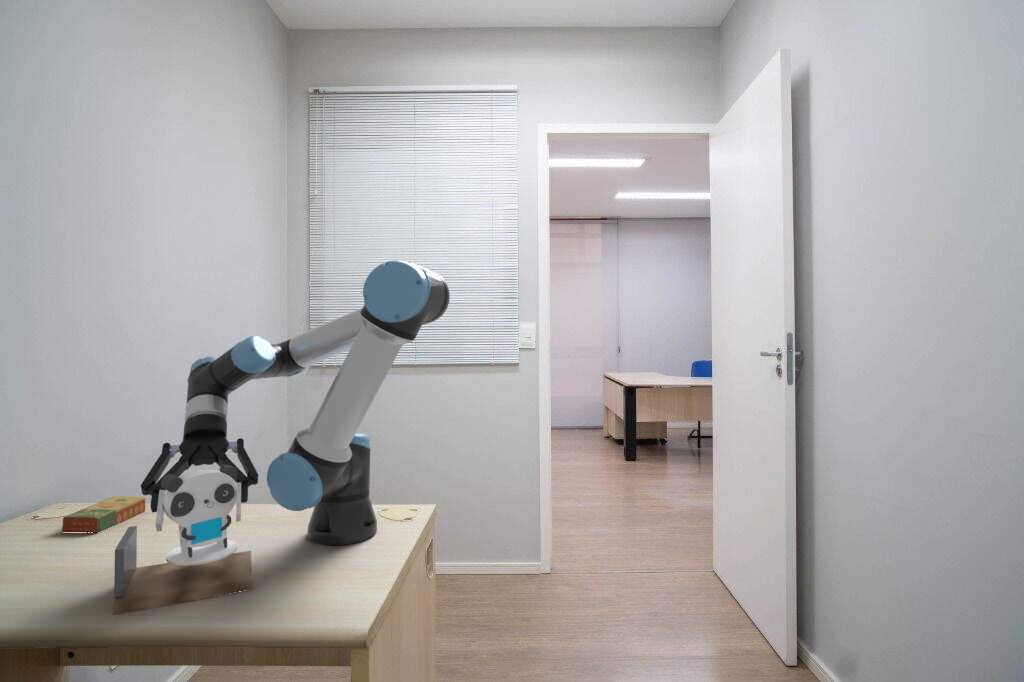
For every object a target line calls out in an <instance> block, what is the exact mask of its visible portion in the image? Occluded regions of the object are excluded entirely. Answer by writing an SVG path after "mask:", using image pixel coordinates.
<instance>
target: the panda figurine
mask: <svg viewBox="0 0 1024 682" xmlns="http://www.w3.org/2000/svg"><path fill="white" fill-rule="evenodd" d="M237 475H238V470H237V469H236V468H235V467H232V466H230V465H222V466H221V467H220V466H219V470H217V469H213V468H204V469H195V470H192V471H189V472H186V473H184V474H181V475H180V476H179V477H177V476H175V475H173V474H167V475H166V476H164V475H163V476H164V477H163V476H162V477H163V479H162V481H161V486H162V488H164V489H166V491H165V497H164V500H163V510H164V514H165V515H166V516H167V518H169V520H171V521H172V522H174V523H175V524H178V533H179V546H177V547H175V548H173V549H171V550H169V551H168V552H167V554H165V561H166V563H171V564H174V565H198V564H204V563H209V562H213V561H217V560H220V559H223V558H225V557H227V556H229V555H231V554H233V553H236V552H237V550H238V548H239V547H238V546H239V545H238V543H237V542H236V541H235V540H231V539H228V535H227V531H228V527H230V526H231V523H232V517H231V516H230V513H231V511H232V510H233V509H234V506H235V505H236V496H237V485H236V484H235V483H236V482H235V481H234V480H233V479H232V478H231V477H236V476H237Z"/></svg>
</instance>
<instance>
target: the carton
mask: <svg viewBox="0 0 1024 682" xmlns="http://www.w3.org/2000/svg"><path fill="white" fill-rule="evenodd" d="M145 512H146V497H145V496H112V497H109V498H107V499H104V500H102V501H99V502H98V503H94V504H92V505H90V506H88V507H85V508H82V509H80V510H77V511H75V512H73V513H70V514H68V515H66V516H63V518H62V527H61V533H62V532H87V533H88V532H90V533H91V532H93V533H98V532H101V531H103V530H105V531H107V530H109V529H111V528H113V527H112V526H114V527H115V525H116V526H117V524H118V525H119V523H120V524H122V523H124V522H126V521H128V520H130V519H132V518H135V517H137V516H139V515H141V514H143V513H145ZM110 527H111V528H110ZM108 528H109V529H108ZM106 529H107V530H106ZM103 532H104V531H103ZM101 533H102V532H101ZM98 534H99V533H98Z"/></svg>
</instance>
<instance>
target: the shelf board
mask: <svg viewBox="0 0 1024 682" xmlns="http://www.w3.org/2000/svg"><path fill="white" fill-rule="evenodd" d="M252 568H253V567H252V550H248V551H247V550H246V551H239V552H234V553H233V554H231V555H229V556H227V557H225V558H223V559H220V560H217V561H213V562H209V563H204V564H198V565H174V564H171V563H168V562H165V563H159V564H152V565H146V566H138V567H137V569H136V572H135V574H134V576H133V578H132V580H131V583H130V585H129V587H128V589H127V591H126V593H125V596H124V598H121V599H115V600H113V602H112V616H113V615H120V614H124V613H125V614H126V613H130V612H136V611H140V610H141V611H142V610H147V609H152V608H153V609H154V608H159V607H160V608H161V607H164V606H165V607H166V606H170V605H174V604H175V605H177V604H182V603H186V602H192V601H198V600H203V599H204V598H205V599H210V598H215V597H214V596H216V597H220V596H219V595H222V596H226V595H225V594H227V595H230V594H229V593H233V594H235V593H234V592H239V591H244V590H250V591H252V590H253V576H252V575H253V573H252V572H253V571H252ZM251 589H252V590H251ZM244 592H245V591H244ZM239 593H240V592H239ZM209 597H210V598H209ZM205 599H204V600H205Z"/></svg>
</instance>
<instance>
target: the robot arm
mask: <svg viewBox="0 0 1024 682" xmlns="http://www.w3.org/2000/svg"><path fill="white" fill-rule="evenodd" d="M362 288H363V289H362V296H363V302H364V303H363V304H364V305H363V306H362V307H361V308H359V309H356V310H354V311H352V312H349V313H347V314H345V315H343V316H340V317H338V318H335V319H333V320H331V321H329V322H325V323H324V324H321V325H319V326H316V327H315V328H312V329H310V330H308V331H305V332H303V333H300V334H297V335H296V336H294V337H292V338H289V339H287V340H285V341H282V342H280V343H275V344H272V343H270V342H269V341H268V340H267V339H266V338H262V337H261V336H259V335H250V336H248V337H246V338H245V339H243V340H241V341H239V342H237V343H236V344H234V346H233V347H231V348H229V349H228V350H227V351H225V352H223V354H222V355H220V356H218V357H217V356H216V357H215V356H206V357H204V358H199V359H197V360H195V361H194V362H193V363H192V365H191V366H190V368H189V369H190V370H189V376H188V377H187V393H186V396H187V397H186V405H185V414H184V415H185V416H184V427H183V437H182V441H181V443H180V444H173V445H171V443H169V442H165V443H163V445H162V449H161V453H160V455H159V457H158V458H157V459H156V461H155V462H154V464H153V466H152V467H151V469H150V470H149V472H148V473H147V475H146V476H145V478H144V479H143V481H142V482H141V484H140V490H141V494H142V495H143V496H147V495H149V496H151V498H150V511H151V513H156V516H155V517H156V518H155V528H156V532H162V531H163V525H164V524H163V523H164V516H165V515H164V514H165V512H164V510H163V500H164V497H165V495H166V492H167V490H166V489H164V488H162V486H161V481H162V479H163V477H164V476H166V475H167V474H173V475H175V476H177V477H180V476H182V475H183V473H185V471H188V470H189V469H190V468H191V467H192V466H194V467H198V466H203V465H207V466H210V465H211V466H213V465H214V463H215V464H217V465H218V466H219V468H220V467H221V466H222V465H230V466H232V467H235V468H236V469H237V470H238V475H237V476H236V477H231V478H232V479H233V481H234V483H236V491H237V496H236V502H235V505H236V507H235V508H236V509H235V511H236V512H235V522H241V521H242V520H241V519H242V504H244V503H247V502H248V501H249V487H251V486H256V485H258V483H259V474H258V472H257V468H256V467H255V466H254V464H253V461H252V460H251V458H250V456H249V454H248V452H247V450H246V448H245V441H244V439H243V438H242V437H241V438H238V439H237V440H236V441H229V440H228V439H227V436H228V435H227V431H228V423H227V422H228V411H229V410H228V409H229V407H228V404H229V395H230V394H231V393H232V392H234V391H236V390H237V389H239V388H240V387H242V386H243V385H245V384H246V383H248V382H250V381H252V380H259V379H261V380H262V379H269V378H281V377H283V378H285V377H292V376H296V375H299V374H301V373H302V372H304V370H306V368H308V367H310V366H313V365H316V364H317V363H320V362H323V361H325V360H327V359H330V358H332V357H335V356H337V355H340V354H342V353H344V352H347V351H348V353H347V355H346V356H345V359H344V361H343V363H342V364H341V366H340V368H339V370H338V372H337V374H336V375H335V378H334V379H333V381H332V383H331V385H330V387H329V389H328V390H327V393H326V395H325V397H324V399H322V400H323V401H322V403H321V404H320V406H319V408H318V410H317V412H316V414H315V416H314V418H313V420H312V422H311V423H310V425H309V427H306V428H302V429H300V430H299V431H298V432H297V434H296V435H295V437H294V439H293V441H292V442H291V445H290V447H289V449H288V451H287V452H283V453H281V454H279V455H278V456H277V457H275V458H274V459H273V460H272V461H271V462H270V464H269V466H268V469H267V473H266V482H267V483H266V485H267V486H268V488H269V493H270V495H271V497H272V498H273V500H274V501H275V502H276V503H277V504H278V505H279V506H281V507H282V508H283V509H286V510H288V511H290V512H291V511H292V512H302V511H304V510H307V509H312V508H313V510H312V513H311V516H310V518H309V522H308V525H307V539H308V540H309V541H310V542H311V543H315V544H318V545H325V546H341V545H350V544H355V543H360V542H363V541H365V540H367V539H370V538H372V537H373V536H374V535H376V533H377V532H378V520H377V516H376V514H375V510H374V507H373V505H372V501H371V498H370V484H371V482H370V481H371V480H370V479H371V476H370V475H371V450H372V449H371V443H370V441H371V440H370V439H371V438H370V437H369V435H368V434H366V433H362V432H357V431H358V429H359V428H360V426H361V423H362V422H363V420H364V418H365V416H366V414H367V412H368V410H369V409H370V407H371V405H372V403H373V401H374V399H375V397H376V396H377V394H378V392H379V389H380V388H381V386H382V384H383V383H384V381H385V379H386V377H387V375H388V373H389V371H390V369H391V368H392V366H393V364H394V362H395V360H396V359H397V356H398V354H399V353H400V350H401V349H402V346H403V345H405V344H408V343H411V342H414V340H415V339H416V338H417V336H418V334H419V332H420V330H421V329H422V326H424V325H427V324H431V323H434V322H435V321H437V320H439V319H440V318H441V317H442V316H443V315H444V314H445V313H446V311H447V310H448V308H449V307H448V306H449V304H450V299H451V298H450V297H451V295H450V294H451V293H450V289H449V286H448V283H447V282H446V280H445V279H444V278H443V277H442V276H441V275H440V274H439V273H438V272H436V271H434V270H433V269H429V268H425V267H422V266H421V265H418V264H416V263H414V262H411V261H406V260H389V261H385V262H383V263H381V264H379V265H377V266H376V267H375V268H373V269H372V270H371V271H370V273H369V274H368V275H367V277H366V279H365V281H364V284H363V287H362ZM229 449H230V450H232V452H233V453H234V454H236V456H237V459H238V460H239V462H240V464H241V466H242V468H243V470H244V472H245V473H243V471H241V469H240V468H239V467H238V466H237V465H236V464H235V463H234V462H233V461H232V460H231V459H230V458H229V457H228V455H227V454H226V453H227V452H228V450H229ZM177 453H180V454H181V456H180V457H179V459H178V460H177V462H176V463H175V464H174V465H173V466H171V468H170V469H169V470H168V471H167V472H166V473H165V474H163V473H164V471H165V469H166V468H167V466H168V465H169V462H170V461H171V459H173V458H174V457H175V456H176V454H177ZM162 474H163V476H162Z"/></svg>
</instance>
